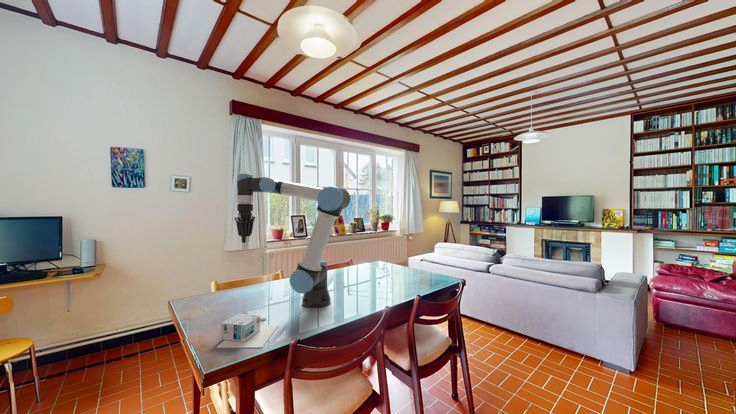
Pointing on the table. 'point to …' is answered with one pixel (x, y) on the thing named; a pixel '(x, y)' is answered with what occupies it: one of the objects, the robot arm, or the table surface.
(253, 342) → the felt mat
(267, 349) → the table surface
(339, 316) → the table surface
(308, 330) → the table surface
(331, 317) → the table surface
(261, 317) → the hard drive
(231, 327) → the light bulb box
